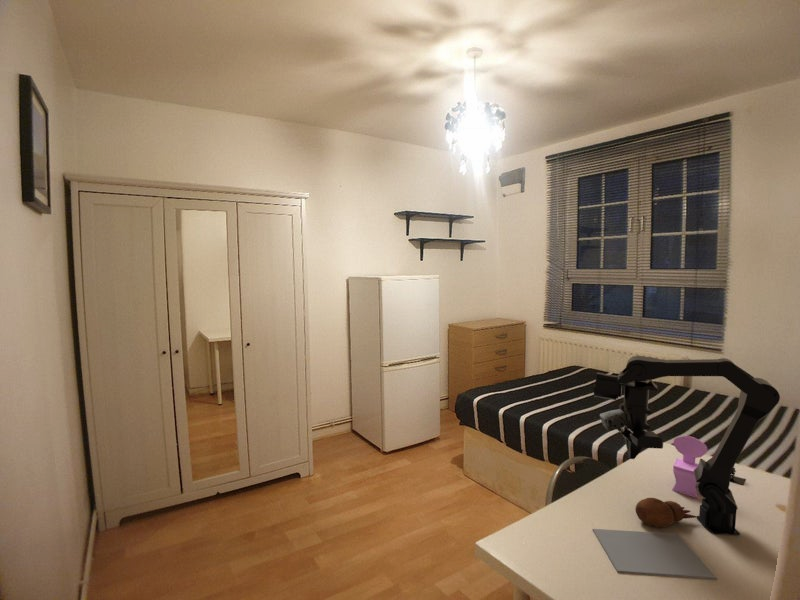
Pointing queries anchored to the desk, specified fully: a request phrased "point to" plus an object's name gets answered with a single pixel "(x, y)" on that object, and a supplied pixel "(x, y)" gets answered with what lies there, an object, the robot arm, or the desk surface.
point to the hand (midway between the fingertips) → (631, 458)
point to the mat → (651, 554)
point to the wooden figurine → (660, 512)
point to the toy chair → (687, 464)
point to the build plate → (736, 478)
